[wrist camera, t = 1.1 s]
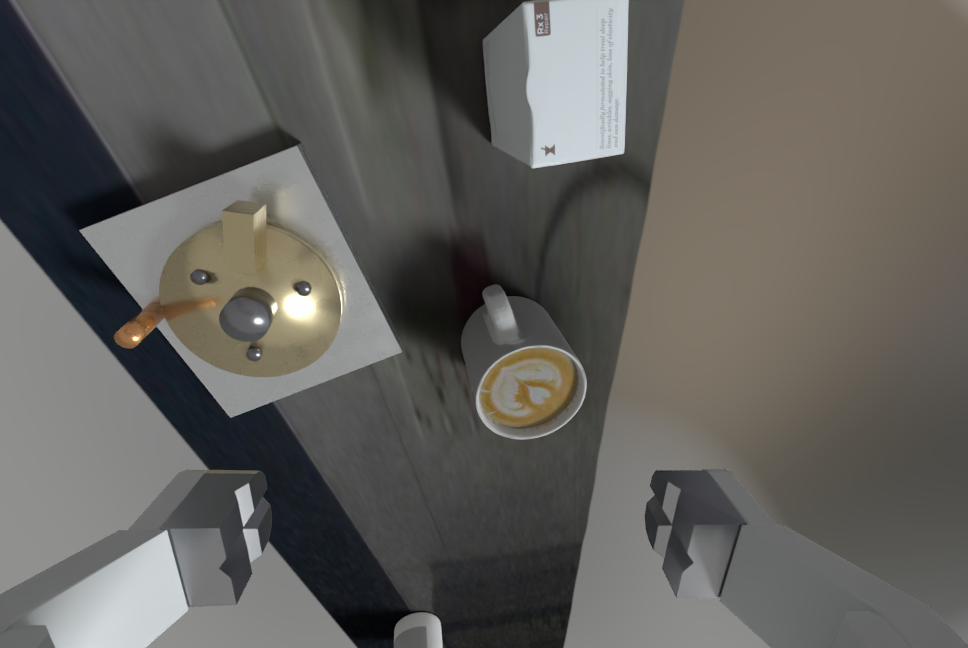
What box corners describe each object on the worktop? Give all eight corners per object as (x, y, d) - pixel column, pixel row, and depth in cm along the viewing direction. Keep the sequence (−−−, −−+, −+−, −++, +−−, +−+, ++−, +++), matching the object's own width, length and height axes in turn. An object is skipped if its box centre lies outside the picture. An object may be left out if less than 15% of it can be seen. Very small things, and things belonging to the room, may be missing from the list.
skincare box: (554, 138, 40) (630, 162, 27) (486, 146, 40) (531, 176, 26) (552, 24, 36) (639, -12, 23) (476, 31, 36) (522, -1, 23)
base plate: (94, 223, 37) (33, 250, 31) (301, 142, 37) (282, 154, 31) (236, 405, 47) (212, 453, 41) (402, 342, 47) (402, 380, 40)
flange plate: (338, 373, 44) (331, 405, 40) (175, 362, 41) (148, 395, 37) (349, 211, 38) (343, 227, 33) (156, 182, 35) (121, 196, 30)
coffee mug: (555, 369, 51) (588, 427, 43) (468, 386, 50) (482, 449, 42) (548, 255, 45) (585, 296, 36) (448, 273, 44) (461, 320, 35)
